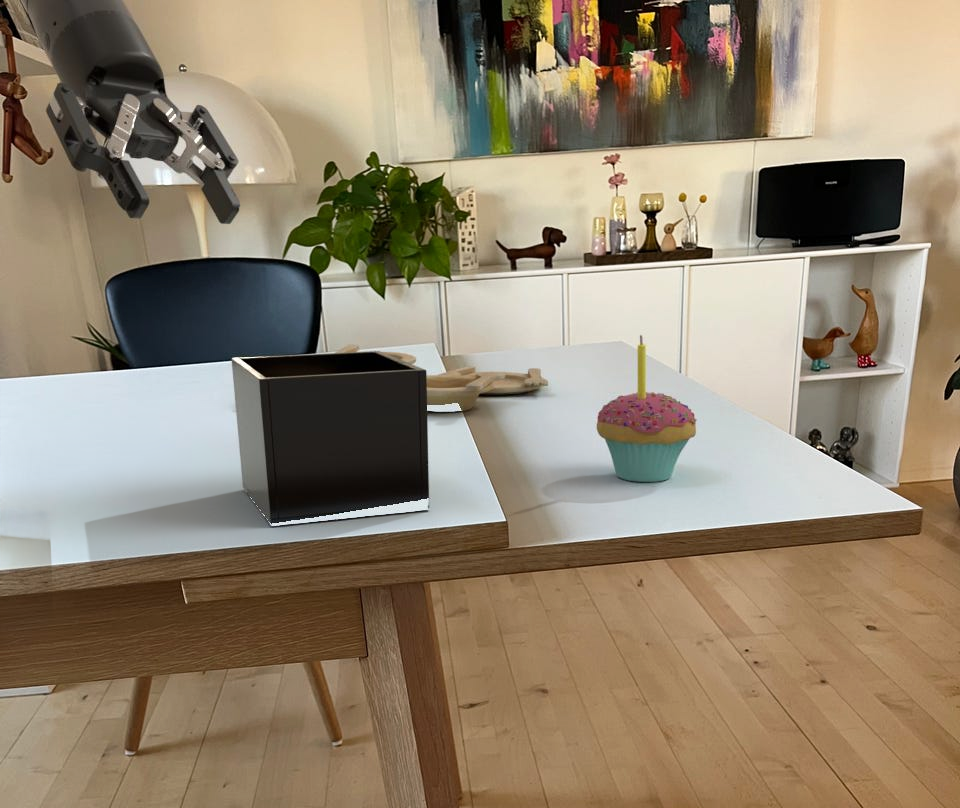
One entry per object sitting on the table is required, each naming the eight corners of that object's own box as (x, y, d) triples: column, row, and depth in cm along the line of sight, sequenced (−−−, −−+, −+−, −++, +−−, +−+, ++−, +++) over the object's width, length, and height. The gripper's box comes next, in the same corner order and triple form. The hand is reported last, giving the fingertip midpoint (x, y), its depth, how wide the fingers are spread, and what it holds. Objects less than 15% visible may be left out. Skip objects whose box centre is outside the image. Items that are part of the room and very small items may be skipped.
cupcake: (672, 492, 85) (682, 340, 81) (577, 480, 89) (582, 335, 85) (704, 471, 92) (716, 330, 88) (615, 460, 96) (621, 325, 91)
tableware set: (221, 407, 123) (218, 371, 121) (326, 372, 149) (325, 343, 147) (509, 423, 113) (509, 385, 112) (567, 383, 139) (568, 352, 138)
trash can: (271, 527, 76) (259, 379, 72) (242, 489, 87) (231, 358, 82) (429, 511, 80) (426, 369, 76) (384, 476, 91) (379, 350, 87)
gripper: (27, -12, 75) (128, 172, 74) (189, 25, 86) (281, 186, 84) (-5, 70, 80) (88, 244, 79) (152, 95, 91) (237, 249, 89)
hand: (188, 214), depth 82 cm, fingers open, 8 cm apart
